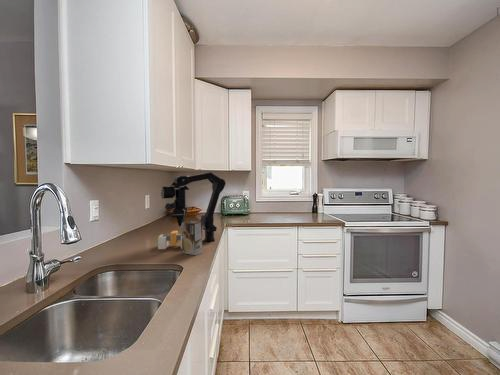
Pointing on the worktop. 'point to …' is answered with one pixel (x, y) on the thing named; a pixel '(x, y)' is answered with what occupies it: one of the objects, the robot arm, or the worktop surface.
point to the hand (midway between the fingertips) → (180, 224)
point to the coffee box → (192, 237)
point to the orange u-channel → (173, 238)
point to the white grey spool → (164, 240)
